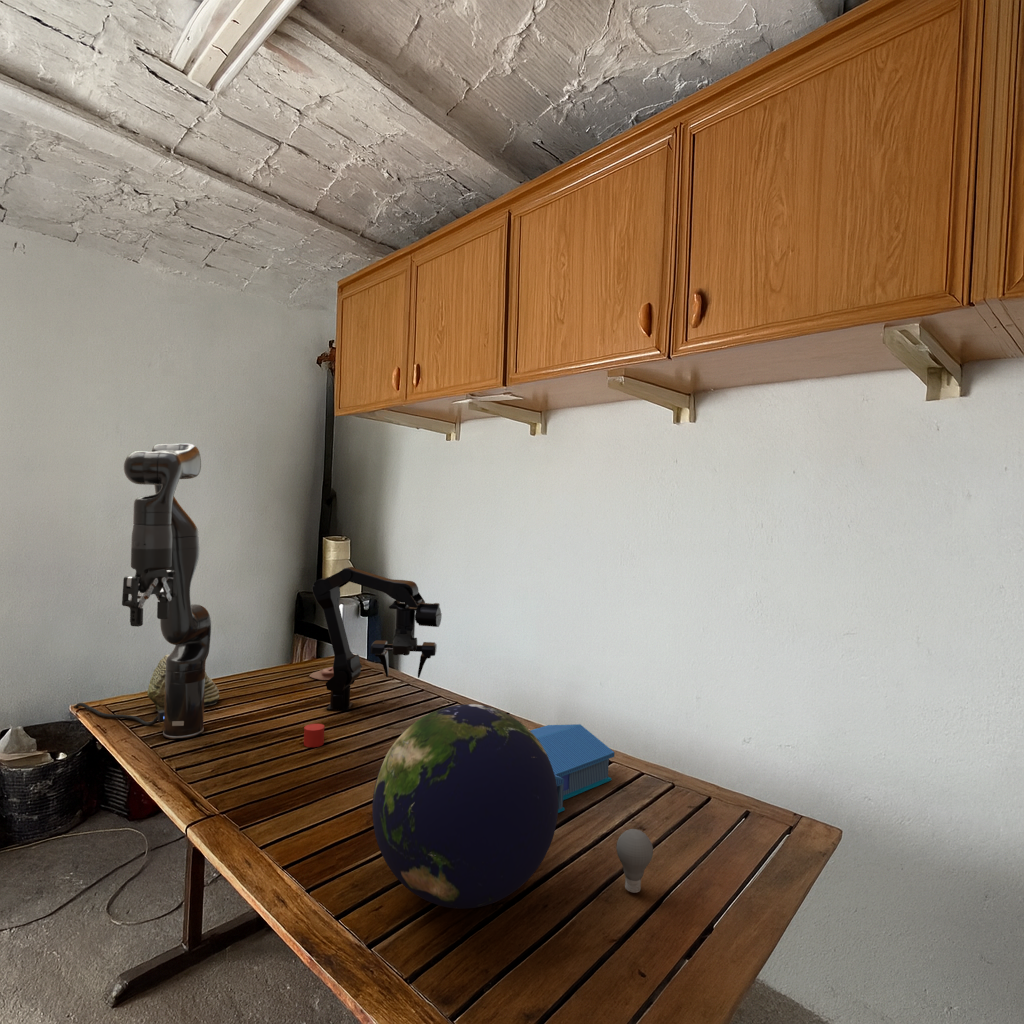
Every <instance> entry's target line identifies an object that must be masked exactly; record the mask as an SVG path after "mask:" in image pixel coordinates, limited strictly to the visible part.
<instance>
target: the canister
mask: <svg viewBox="0 0 1024 1024" xmlns="http://www.w3.org/2000/svg"><path fill="white" fill-rule="evenodd" d="M303 729H304V730H303V732H304V733H303V746H304V747H306V748H319V747H321V746H323V745H324V744H325V725H324V724H323V723H309V724H307V725H305V726H304V727H303Z"/></svg>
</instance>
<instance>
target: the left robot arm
mask: <svg viewBox="0 0 1024 1024" xmlns="http://www.w3.org/2000/svg"><path fill="white" fill-rule="evenodd" d="M201 469H202V458H201V453H200V450H199V448H198V447H197V446H196V445H195V444H192V443H187V442H186V443H185V442H183V443H156V444H154V445H153V446H152V448H151V451H147V450H134V451H132V452H130V453H129V454H128V455H127V456H126V457H125V459H124V462H123V471H124V475H125V477H126V478H127V480H128V481H129V482H130V483H133V484H135V485H143V486H144V485H145V486H147V485H148V486H154V493H153V494H150V495H143V496H142V495H141V496H139V497H137V498H135V499H134V500H133V514H132V515H133V520H132V522H133V523H132V531H131V541H130V542H131V544H130V547H131V549H130V567H131V569H133V570H135V575H134V576H127V575H125V576H124V577H123V580H122V581H123V583H122V595H121V596H122V598H121V605H122V606H123V607H127V608H129V623H130V626H131V627H138V628H139V627H142V626H143V625H144V605H145V603H146V601H147V600H149V599H150V597H151V595H152V596H153V595H154V596H155V597H156V599H157V604H156V605H157V607H156V618H157V619H158V620H159V625H160V626H159V627H160V631H161V634H162V636H163V639H164V640H165V641H166V642H167V643H169V644H171V645H173V646H174V648H173V650H172V651H171V653H170V654H168V655H169V656H168V657H167V659H166V674H165V705H164V710H160V711H159V710H157V715H156V716H155V717H154V718H153V719H152V721H145V720H143V719H142V718H140V717H138V716H135V715H128V714H111V713H105V712H102V711H100V710H98V709H96V708H94V707H91V706H89V705H88V704H86V703H84V702H78V703H76V704H75V705H74V706H73V708H74V709H78V708H79V707H82V708H84V709H86V710H87V711H89V712H92V713H94V714H95V715H97V716H99V717H101V718H108V719H124V720H125V719H126V720H133V721H136V722H137V723H139V724H142V725H144V726H147V727H149V726H152V725H155V724H156V723H157V722H159V723H161V722H163V731H162V737H164V738H166V739H169V740H185V739H190V738H191V739H192V738H194V737H197V736H199V735H202V734H203V732H204V730H205V729H204V722H205V721H204V718H205V706H204V693H205V672H206V664H207V663H206V662H207V658H208V655H209V653H210V647H211V636H212V617H211V614H210V613H209V611H208V609H207V608H206V607H204V606H203V605H200V604H196V603H193V604H192V603H191V601H192V600H191V586H192V581H193V578H194V575H195V572H196V570H197V566H198V563H199V559H200V537H199V529H198V527H197V525H196V523H195V522H194V521H193V520H192V517H190V516H189V514H188V513H187V512H186V510H184V509H183V507H182V506H181V505H180V503H179V502H178V500H177V499H176V497H175V493H176V489H177V487H178V484H179V481H180V480H189V479H194V478H197V477H198V476H199V475H200V473H201ZM129 596H131V597H130V598H129Z"/></svg>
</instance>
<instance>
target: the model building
mask: <svg viewBox="0 0 1024 1024" xmlns="http://www.w3.org/2000/svg"><path fill="white" fill-rule="evenodd" d="M529 730H530V732H531V733H532V734H533V735H534V736H535V737H536V738H537V739H538V741H539V742H540V743H541V745H542V747H543V748H544V750H545V752H546V753H547V756H548V758H549V761H550V763H551V765H552V768H553V772H554V775H555V779H556V784H557V791H558V814H559V813H562V812H564V811H565V810H566V809H565V807H564V805H563V804H564V801H565V800H568V799H570V798H572V797H575V796H577V795H580V794H582V793H585V792H587V791H589V790H591V789H594V788H597V787H599V786H601V785H603V784H606V783H609V782H610V781H612V779H613V778H612V777H610V776H609V766H610V765H609V763H610V759H612V758H614V757H615V751H613V750H612V749H611V748H610V747H609V746H608V745H606V744H605V743H604V742H603V741H601V740H600V738H598V737H597V736H595V735H594V734H593V733H592V732H591V731H589V730H588V729H587V728H586V727H584V726H583V725H582V724H580V723H578V724H576V723H575V724H548V725H547V724H546V725H544V726H541V727H537V728H533V729H529Z"/></svg>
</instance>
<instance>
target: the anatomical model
mask: <svg viewBox="0 0 1024 1024" xmlns="http://www.w3.org/2000/svg"><path fill="white" fill-rule="evenodd" d="M333 676H334V672H333V666H330V667H326V668H322V669H320V670H316V671H313V672H312V673H311V674H309V676H308V677H310V678H312V679H315V680H320V681H329V680H330V679H331V678H332V677H333Z"/></svg>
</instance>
